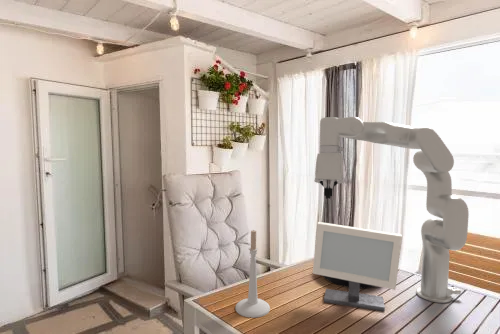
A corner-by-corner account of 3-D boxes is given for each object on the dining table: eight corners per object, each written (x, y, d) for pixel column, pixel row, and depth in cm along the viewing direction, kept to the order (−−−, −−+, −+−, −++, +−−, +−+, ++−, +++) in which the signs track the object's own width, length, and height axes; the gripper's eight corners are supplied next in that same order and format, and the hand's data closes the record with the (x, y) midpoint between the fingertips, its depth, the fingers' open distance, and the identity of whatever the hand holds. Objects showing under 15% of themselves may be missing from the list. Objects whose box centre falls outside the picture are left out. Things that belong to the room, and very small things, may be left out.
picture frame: (394, 286, 123) (401, 234, 121) (395, 289, 120) (402, 236, 118) (313, 270, 132) (318, 221, 130) (312, 273, 129) (317, 223, 127)
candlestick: (273, 303, 128) (274, 226, 126) (265, 320, 116) (266, 236, 113) (241, 298, 132) (242, 224, 129) (230, 314, 119) (231, 232, 117)
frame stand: (382, 300, 131) (385, 243, 129) (384, 311, 123) (387, 250, 121) (325, 292, 138) (327, 238, 136) (324, 302, 129) (325, 244, 127)
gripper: (350, 150, 127) (348, 197, 128) (310, 149, 131) (309, 195, 133) (350, 150, 120) (348, 201, 121) (308, 150, 124) (307, 198, 125)
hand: (328, 198), depth 127 cm, fingers closed
